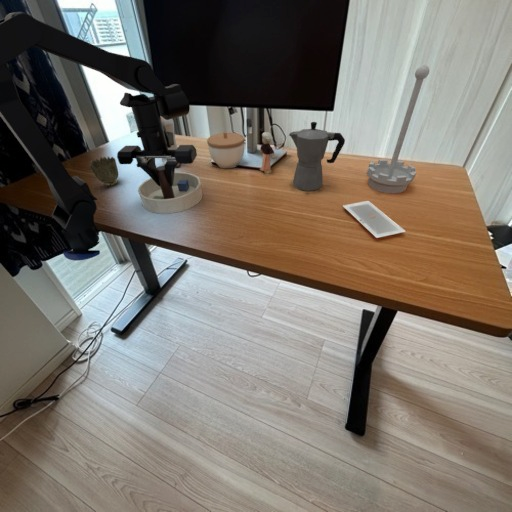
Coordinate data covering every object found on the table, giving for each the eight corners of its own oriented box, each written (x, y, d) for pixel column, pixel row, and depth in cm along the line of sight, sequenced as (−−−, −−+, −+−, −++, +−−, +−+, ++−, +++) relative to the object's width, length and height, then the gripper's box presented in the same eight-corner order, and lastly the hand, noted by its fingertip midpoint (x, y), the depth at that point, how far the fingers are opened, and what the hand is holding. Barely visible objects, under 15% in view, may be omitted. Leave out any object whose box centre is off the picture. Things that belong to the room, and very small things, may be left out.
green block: (161, 209, 74) (158, 201, 72) (153, 208, 75) (150, 200, 73) (165, 204, 76) (163, 196, 74) (157, 203, 76) (155, 195, 75)
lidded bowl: (223, 175, 90) (219, 141, 83) (204, 164, 98) (199, 132, 91) (252, 164, 96) (251, 132, 89) (232, 155, 104) (229, 124, 96)
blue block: (186, 191, 81) (185, 183, 80) (178, 191, 82) (177, 183, 80) (189, 187, 83) (187, 180, 81) (181, 187, 83) (180, 179, 82)
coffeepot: (283, 188, 82) (285, 125, 70) (289, 175, 89) (293, 116, 77) (334, 195, 78) (346, 129, 66) (337, 180, 85) (349, 119, 73)
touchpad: (367, 204, 74) (369, 197, 72) (404, 235, 63) (407, 227, 62) (341, 209, 72) (343, 201, 71) (375, 241, 61) (377, 234, 60)
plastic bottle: (162, 164, 99) (146, 103, 86) (181, 161, 101) (168, 100, 87) (164, 171, 94) (148, 107, 81) (184, 167, 96) (170, 105, 83)
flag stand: (412, 197, 76) (463, 69, 56) (363, 191, 79) (395, 68, 59) (408, 178, 85) (451, 61, 65) (365, 173, 88) (393, 61, 69)
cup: (101, 182, 89) (90, 158, 84) (124, 178, 91) (115, 154, 85) (98, 192, 84) (86, 167, 78) (123, 188, 85) (113, 163, 80)
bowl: (195, 215, 72) (192, 200, 69) (133, 214, 73) (127, 200, 70) (207, 185, 85) (205, 172, 82) (154, 185, 86) (150, 172, 83)
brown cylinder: (173, 201, 75) (165, 170, 69) (162, 201, 75) (153, 170, 69) (176, 196, 77) (168, 165, 71) (166, 196, 77) (157, 165, 71)
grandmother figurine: (254, 170, 93) (253, 131, 84) (262, 166, 95) (262, 128, 86) (270, 176, 89) (271, 136, 80) (278, 172, 91) (279, 133, 82)
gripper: (196, 114, 69) (205, 172, 79) (125, 116, 70) (143, 173, 80) (185, 127, 60) (197, 191, 71) (105, 129, 61) (128, 191, 72)
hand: (166, 185), depth 74 cm, fingers closed on brown cylinder, 3 cm apart
